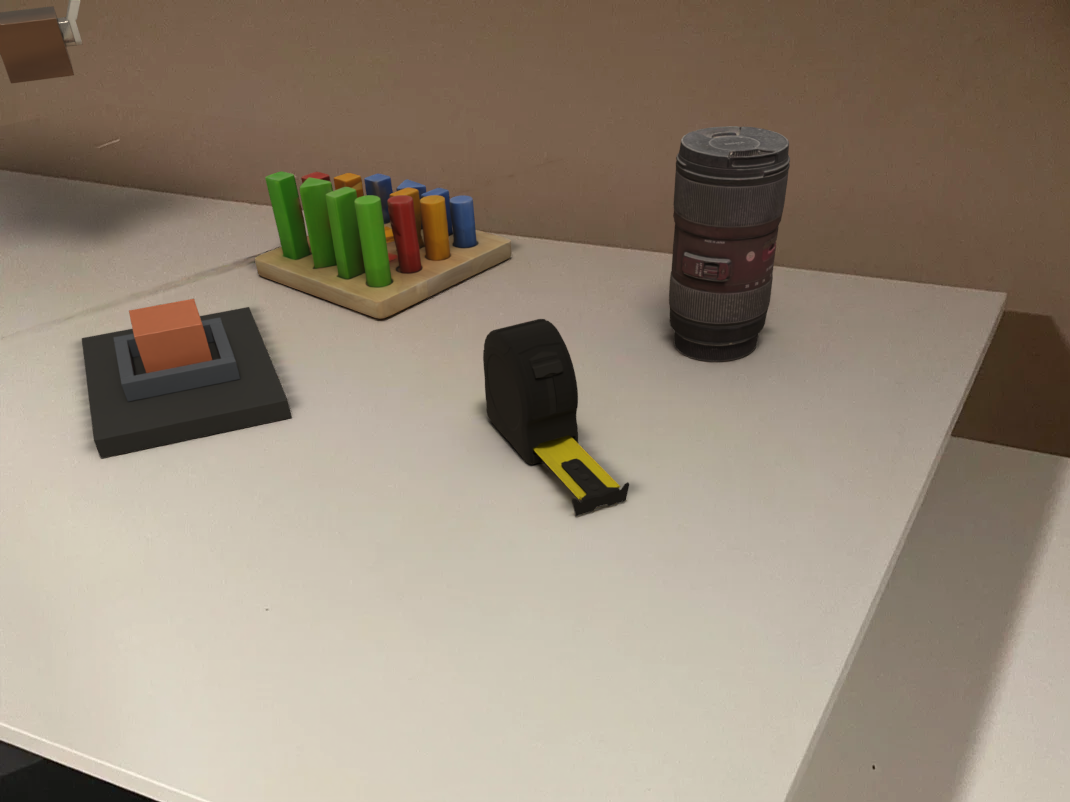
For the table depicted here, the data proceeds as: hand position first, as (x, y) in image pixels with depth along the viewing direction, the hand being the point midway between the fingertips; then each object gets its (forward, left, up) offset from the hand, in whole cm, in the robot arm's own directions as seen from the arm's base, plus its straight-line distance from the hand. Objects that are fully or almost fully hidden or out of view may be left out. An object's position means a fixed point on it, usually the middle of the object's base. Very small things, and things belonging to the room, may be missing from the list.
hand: (33, 49), depth 84 cm
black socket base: (-5, -26, -18) cm, 32 cm away
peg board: (+20, -18, -19) cm, 33 cm away
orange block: (-5, -26, -17) cm, 31 cm away
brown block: (0, 0, -2) cm, 2 cm away
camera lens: (+30, -51, -19) cm, 62 cm away
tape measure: (+9, -55, -19) cm, 58 cm away
